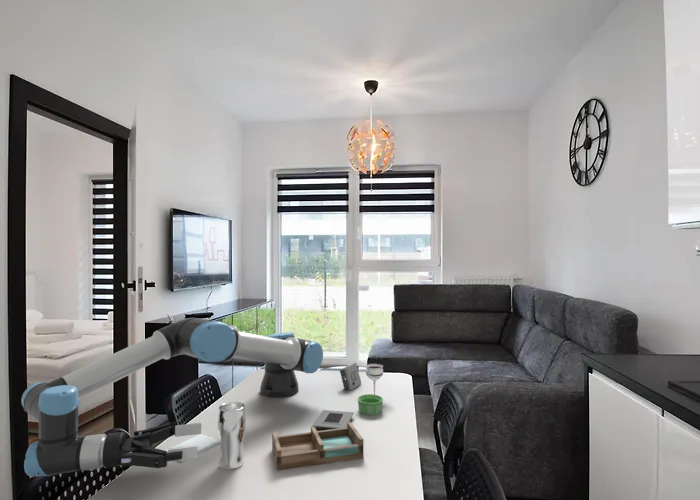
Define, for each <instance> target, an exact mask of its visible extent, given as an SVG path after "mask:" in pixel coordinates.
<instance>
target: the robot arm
mask: <svg viewBox="0 0 700 500" xmlns="http://www.w3.org/2000/svg"><path fill="white" fill-rule="evenodd" d="M294 333H295V332H290V331H289V332H288V331H287V332H278V333H273V334H268V335H261V334H255V333H249V332H244V331H239V330H238V328H237V327H236V325H233V324H231V323H230V324H229V323H225V322H222V321H218V320H208V319H204V318H199V317H189V318H188V317H187V318H184V319H181V320H177V321H175V322H173V323H171V324H169V325H166V326H164V327H162V328H159V329H156V330H155V331H154V332H153V334H152V336H150V337H147V338H145V339H143V340H140V341H138V342H136V343H134V344H131V345H130V346H127V347H124V348H123V349H121V350H118V351H117V352H114V353H112V354H110V355H108V356H105V357H103V358H101V359H98V360H97V361H94V362H92V363H90V364H87V365H85V366H84V367H83V366H82V367H81V368H78V369H76V370H74V371H72V372H70V373H68V374H65V375H63V376H60V377H58V378H56V379H54V380H51V381H49V382H47V381H46V382H45V381H44V382H43V381H42V382H37V383H34V384H31V385H30V386H29V387H27V388H26V389H25V390H24V392H23V393H22V396H21V406H22V408H23V410H24V412H26V414H28V415H30V416H31V417H32V418H33V419H34V420H35V421H36V422H37V423H38V441H35V442H32V443H31V444H30V445H29V446H28V448H27V450H26V453H25V457H24V458H25V459H24V463H23V467H24V473H25V474H26V475H27V476H28V477H30V478H34V476H35V478H36V477H51V476H54V475H60V474H67V473H74V472H82V471H89V472H93V471H94V470H99V469H102V468H103V467H104V468H106V469H107V468H113V467H120V466H121V467H130V466H131V467H132V466H133V467H140V468H141V467H142V468H152V469H162V468H166V467H167V466H168V463H169V462H177V461H178V460H185V459H187V460H191V459H198V458H199V454H198V445H194V446H186V447H178V448H172V447H169V448H168V449H167V450H168V453H167V451H165V450H164V449H160V448H156V447H154V446H153V445H154V444H156V443H158V442H161V441H163V440H166V439H168V438H171V437H175V438H176V437H184V436H185V437H186V436H193V435H199V434H202V422H196V423H186V424H178V425H176V424H177V423H176V422H175V421H170V422H167V423H164V424H161V425H157V426H154V427H150V428H145V429H143V430H136V431H133V436H131V437H127V434H126V432H125V431H120V432H119V431H118V432H110V433H108V434H106V433H100V434H91V435H83V436H79V435H78V434H79V429H78V428H79V406H80V405H79V404H80V400H81V399H82V398H83V399H84V398H85V397H87V396H90V395H91V394H93V393H96V392H98V391H99V390H101V389H104V388H105V387H107V386H110V385H111V384H113V383H116V382H117V381H119V380H121V379H124V378H126V377H128V376H129V375H131V374H134V373H135V372H138V371H140V370H141V369H144V368H146V367H148V366H150V365H151V364H154V363H157V362H158V361H160V360H162V359H163V360H165V361H166V360H170V359H171V358H173V357H176V356H179V355H180V356H181V355H186V356H189V357H192V358H195V359H199V360H200V361H201V360H202V361H203V362H208V363H218V362H223V363H224V362H225V363H226V362H229V361H231V360H232V359H239V360H245V361H255V362H262V363H264V374H263V377H262V380H261V383H260V387H259V388H260V389H259V390H260V391H259V392H260V394H261V395H262V396H264V397H268V398H283V397H289V396H292V395H295V394H297V393H298V392H299V381H298V378H297V375H296V373H295V371H296V372H303V373H305V374H313V373H316V372H317V371H318V370H319V368H320V367H321V365H322V364H323V359H324V351H323V347H322V345H321V344H320V343H319V342H317V341H315V340H309V339H308V340H307V339H302V338H297V337H295V334H294ZM152 446H153V447H152ZM185 461H186V460H185ZM38 473H39V474H38Z"/></svg>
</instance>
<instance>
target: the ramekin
mask: <svg viewBox="0 0 700 500" xmlns="http://www.w3.org/2000/svg"><path fill="white" fill-rule="evenodd" d="M356 400H357V404H358V410H359V411H358V412H359V413H361V414H363V415H367V416H374V415H375V416H376V415H378V414H380V413H381V412H382V409H383V402H384V398H383V397H382V396H380V395H378V394H375V395H374V393H372V394H370V393H369V394H368V393H367V394H362V395H359V396H357V399H356Z"/></svg>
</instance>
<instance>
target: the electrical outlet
mask: <svg viewBox="0 0 700 500" xmlns="http://www.w3.org/2000/svg"><path fill="white" fill-rule="evenodd" d="M353 416H354V411H341V410H340V411H339V410H329V409H323V410H322V412H320V414H319V416H318V417H317V418H316V420H315V421H314V423H313V425H312V427H313V426H314V427H315V429H322V430H330V429H338V428H346V427H347V422H351V419H352V418H353Z"/></svg>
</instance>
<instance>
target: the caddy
mask: <svg viewBox="0 0 700 500" xmlns="http://www.w3.org/2000/svg"><path fill="white" fill-rule="evenodd" d="M271 437H272V441H271V442H272V443H271V448H272V449H271V450H272V455H273V458H274V462H275V463H274V464H275V468H276V471H277V472H280V471H286V470H287V471H288V470H293V469H299V468H306V467H313V466H318V465H319V466H320V465H326V464H333V463H338V462H345V461H352V460H358V459H364V457H365V456H364V438H363V436H362V435H361V434H360V433H359V431H358V430H357V429H356V427H355V426H354V424H353V423H352V422H351V421H350V422H347V427H346V428H338V429H322V430H317V428H315V427H314V426H313V425H312V426H311V427H310V431H309V432H299V433H292V434H284V435H278V434H277V431H276V430H273V431H272V434H271Z"/></svg>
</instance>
